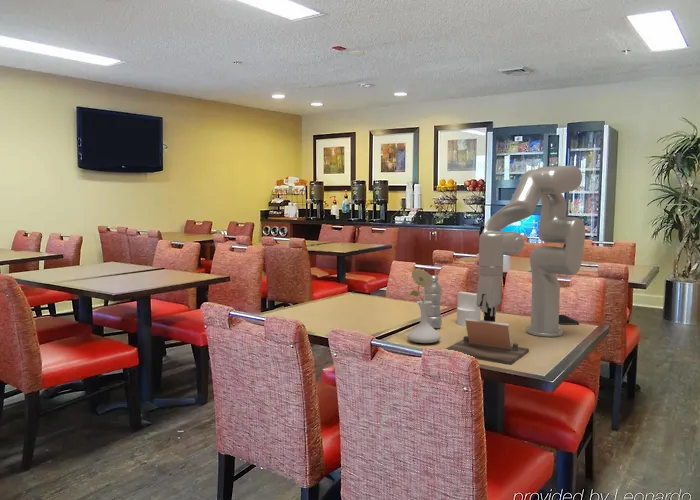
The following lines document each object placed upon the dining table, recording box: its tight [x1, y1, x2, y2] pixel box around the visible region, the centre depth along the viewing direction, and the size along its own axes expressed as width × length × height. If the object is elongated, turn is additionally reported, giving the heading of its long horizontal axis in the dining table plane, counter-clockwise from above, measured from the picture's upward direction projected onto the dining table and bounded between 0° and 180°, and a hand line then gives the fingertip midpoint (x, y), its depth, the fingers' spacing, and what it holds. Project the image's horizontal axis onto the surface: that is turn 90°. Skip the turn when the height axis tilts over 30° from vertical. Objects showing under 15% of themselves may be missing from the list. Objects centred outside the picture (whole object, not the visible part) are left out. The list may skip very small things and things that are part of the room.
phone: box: [559, 314, 580, 326], centre depth 222 cm, size 8×1×15 cm
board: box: [445, 335, 530, 366], centre depth 177 cm, size 17×22×3 cm
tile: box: [465, 318, 513, 350], centre depth 178 cm, size 9×14×1 cm
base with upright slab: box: [456, 291, 481, 327], centre depth 217 cm, size 9×9×12 cm
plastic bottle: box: [423, 274, 443, 329], centre depth 209 cm, size 6×7×20 cm
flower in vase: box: [407, 268, 442, 344], centre depth 190 cm, size 13×11×25 cm
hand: (489, 327), depth 178 cm, fingers closed
